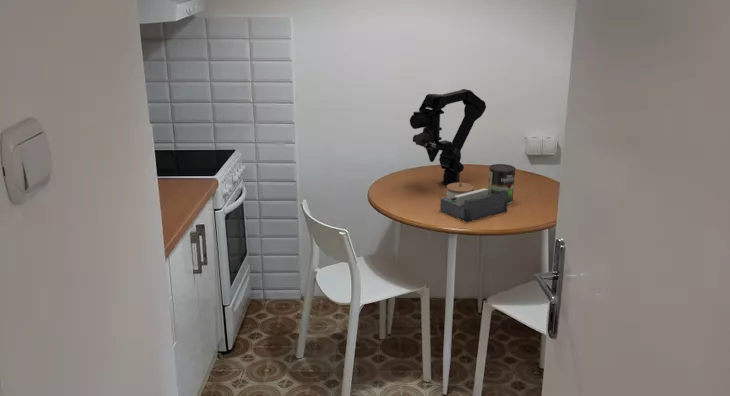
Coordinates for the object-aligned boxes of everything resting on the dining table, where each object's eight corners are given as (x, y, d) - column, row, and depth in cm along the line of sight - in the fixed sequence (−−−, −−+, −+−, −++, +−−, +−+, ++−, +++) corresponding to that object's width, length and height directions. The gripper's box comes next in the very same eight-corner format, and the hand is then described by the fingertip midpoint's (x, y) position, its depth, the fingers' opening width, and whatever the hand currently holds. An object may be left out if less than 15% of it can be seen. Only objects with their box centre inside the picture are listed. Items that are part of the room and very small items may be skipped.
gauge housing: (479, 200, 286) (480, 181, 283) (506, 211, 274) (508, 191, 272) (440, 210, 274) (440, 191, 272) (466, 222, 263) (467, 202, 260)
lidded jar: (461, 199, 288) (462, 177, 285) (478, 206, 279) (479, 184, 276) (440, 203, 282) (441, 181, 279) (457, 211, 274) (458, 188, 271)
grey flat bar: (483, 202, 281) (484, 188, 279) (487, 204, 279) (488, 189, 277) (449, 211, 271) (450, 196, 269) (452, 213, 269) (453, 198, 267)
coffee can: (518, 202, 284) (521, 169, 279) (497, 206, 279) (500, 172, 274) (502, 195, 292) (504, 162, 288) (481, 199, 288) (483, 165, 283)
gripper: (403, 123, 293) (402, 160, 298) (433, 132, 279) (432, 170, 284) (423, 120, 299) (422, 155, 305) (454, 128, 285) (452, 165, 291)
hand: (431, 161), depth 296 cm, fingers closed
